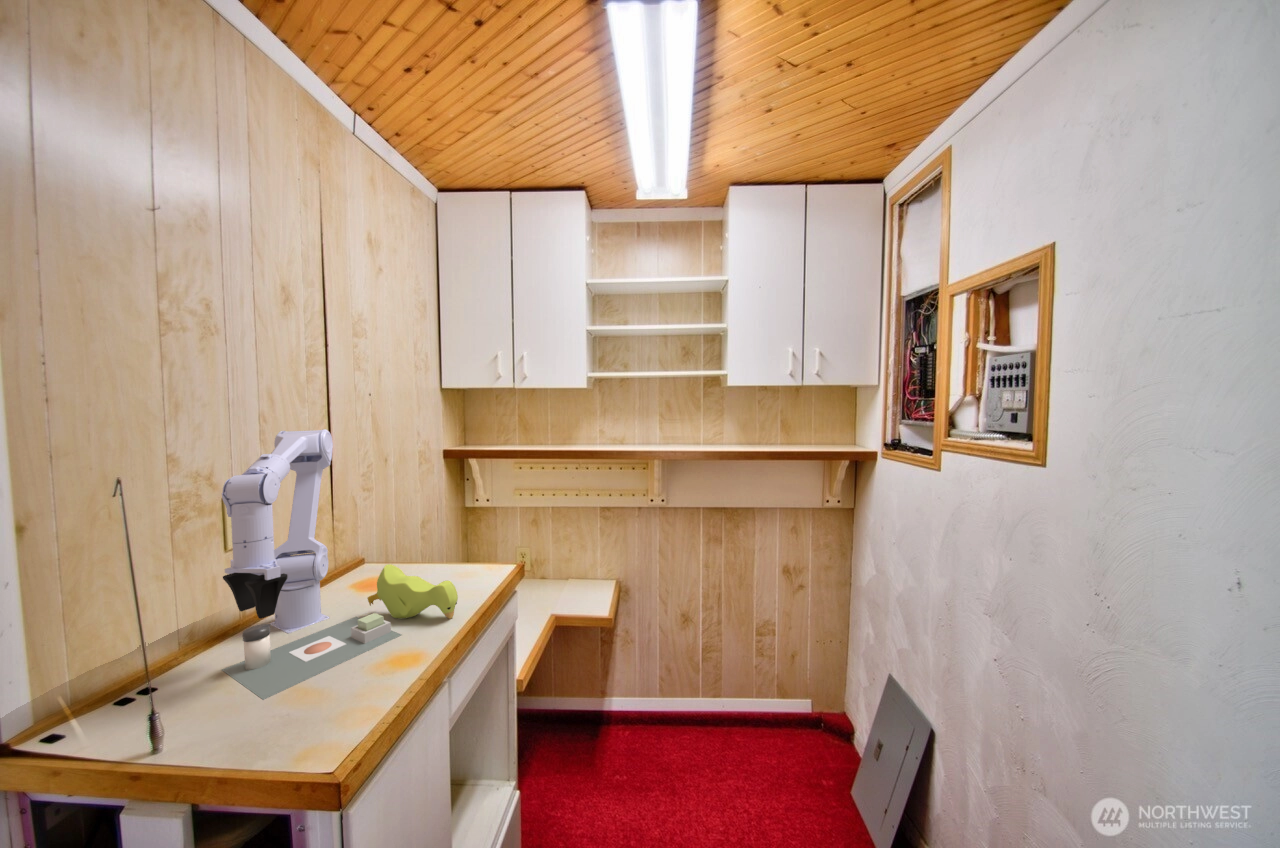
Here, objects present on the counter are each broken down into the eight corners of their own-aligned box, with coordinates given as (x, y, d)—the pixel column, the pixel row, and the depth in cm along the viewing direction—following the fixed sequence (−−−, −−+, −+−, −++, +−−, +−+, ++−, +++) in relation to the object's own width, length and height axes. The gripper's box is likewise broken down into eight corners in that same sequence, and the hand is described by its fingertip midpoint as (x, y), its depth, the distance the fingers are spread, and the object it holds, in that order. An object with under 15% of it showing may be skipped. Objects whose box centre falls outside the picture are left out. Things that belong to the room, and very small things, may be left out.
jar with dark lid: (240, 666, 80) (239, 631, 80) (266, 656, 83) (264, 622, 83) (249, 672, 78) (247, 636, 78) (275, 661, 81) (273, 626, 81)
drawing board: (221, 672, 79) (220, 658, 79) (356, 618, 99) (355, 607, 99) (263, 702, 70) (262, 687, 70) (402, 637, 90) (401, 625, 90)
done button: (358, 631, 90) (357, 619, 90) (375, 624, 93) (374, 613, 93) (367, 635, 88) (366, 623, 88) (384, 628, 91) (383, 616, 91)
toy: (379, 647, 98) (452, 621, 94) (354, 578, 99) (426, 549, 95) (399, 633, 104) (469, 608, 100) (376, 568, 105) (444, 541, 101)
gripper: (207, 541, 80) (211, 614, 80) (243, 549, 73) (246, 629, 73) (255, 531, 86) (258, 600, 86) (292, 538, 79) (295, 612, 79)
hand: (256, 612), depth 80 cm, fingers open, 7 cm apart
